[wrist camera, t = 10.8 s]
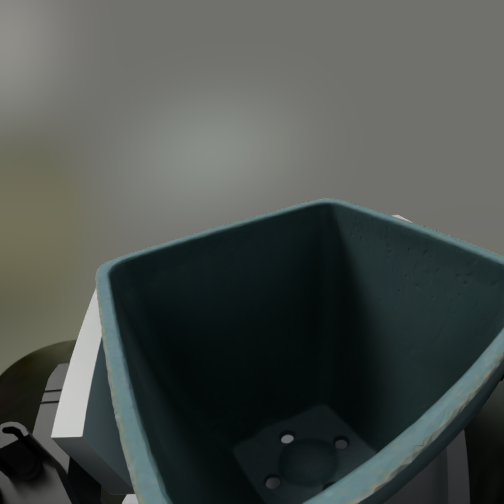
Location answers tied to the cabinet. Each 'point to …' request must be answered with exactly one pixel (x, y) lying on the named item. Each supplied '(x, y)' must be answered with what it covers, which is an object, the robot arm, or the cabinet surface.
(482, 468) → the cabinet surface
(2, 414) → the cabinet surface
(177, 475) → the flower pot
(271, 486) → the plant tray
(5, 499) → the robot arm
